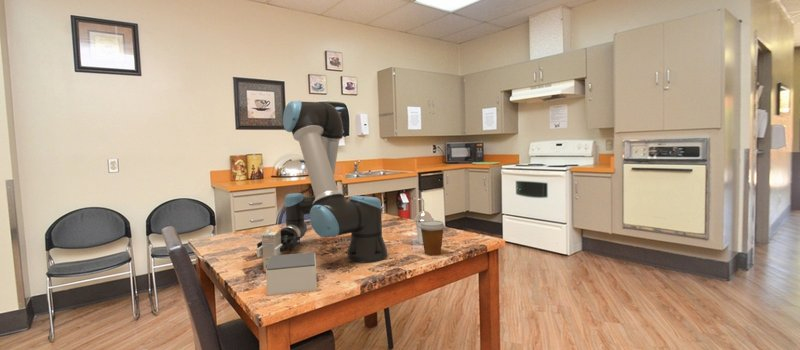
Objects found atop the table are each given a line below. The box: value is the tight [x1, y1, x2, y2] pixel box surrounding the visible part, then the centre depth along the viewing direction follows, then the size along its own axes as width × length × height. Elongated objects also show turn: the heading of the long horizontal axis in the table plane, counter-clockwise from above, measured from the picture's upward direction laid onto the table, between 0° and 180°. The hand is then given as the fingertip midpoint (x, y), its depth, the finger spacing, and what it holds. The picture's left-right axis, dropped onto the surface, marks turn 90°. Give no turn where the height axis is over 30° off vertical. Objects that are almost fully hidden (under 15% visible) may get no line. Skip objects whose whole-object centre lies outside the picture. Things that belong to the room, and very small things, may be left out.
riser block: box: [265, 251, 318, 296], centre depth 120 cm, size 14×14×8 cm
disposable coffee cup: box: [420, 219, 445, 256], centre depth 149 cm, size 10×10×12 cm
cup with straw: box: [411, 197, 434, 245], centre depth 164 cm, size 8×9×20 cm
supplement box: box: [261, 228, 283, 273], centre depth 136 cm, size 8×5×13 cm, turn 4°
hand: (266, 252), depth 130 cm, fingers closed on supplement box, 5 cm apart
